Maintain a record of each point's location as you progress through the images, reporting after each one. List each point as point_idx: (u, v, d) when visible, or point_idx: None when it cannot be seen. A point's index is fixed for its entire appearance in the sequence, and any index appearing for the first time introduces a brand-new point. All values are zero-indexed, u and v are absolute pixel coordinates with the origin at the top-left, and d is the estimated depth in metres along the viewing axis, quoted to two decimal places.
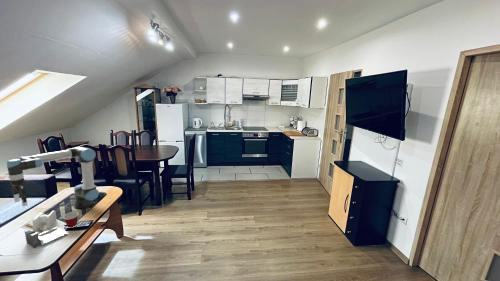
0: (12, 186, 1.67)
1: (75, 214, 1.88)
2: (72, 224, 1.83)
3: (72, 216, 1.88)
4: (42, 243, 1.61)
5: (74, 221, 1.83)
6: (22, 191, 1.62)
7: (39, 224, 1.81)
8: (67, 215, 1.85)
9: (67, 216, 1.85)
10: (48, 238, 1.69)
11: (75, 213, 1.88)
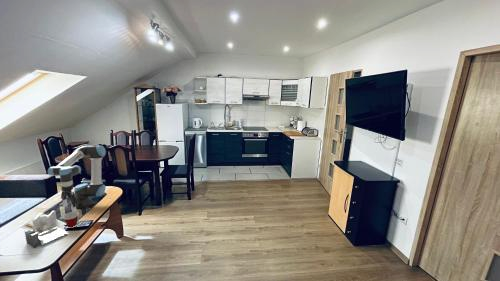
0: (62, 192, 1.81)
1: (75, 214, 1.88)
2: (72, 224, 1.83)
3: (72, 216, 1.88)
4: (42, 243, 1.61)
5: (74, 221, 1.83)
6: (72, 197, 1.76)
7: (39, 224, 1.81)
8: (67, 215, 1.85)
9: (67, 216, 1.85)
10: (48, 238, 1.69)
11: (75, 213, 1.88)
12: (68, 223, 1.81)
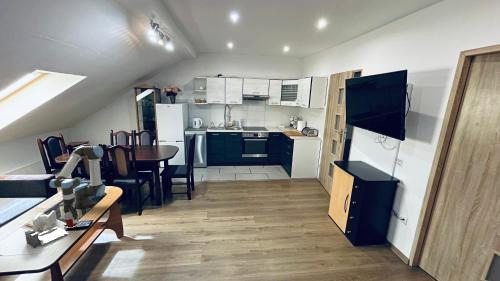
0: None
1: None
2: (72, 224, 1.83)
3: (72, 216, 1.88)
4: (42, 243, 1.61)
5: None
6: (74, 210, 1.79)
7: (39, 224, 1.81)
8: (67, 215, 1.85)
9: (67, 216, 1.85)
10: (48, 238, 1.69)
11: None
12: (68, 223, 1.81)
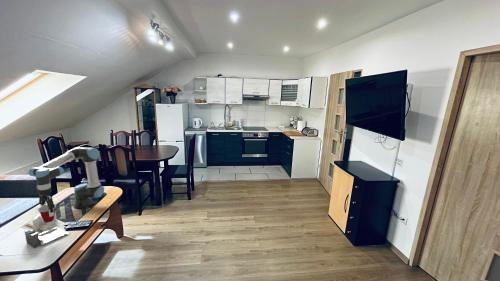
0: (39, 196, 1.67)
1: None
2: (48, 217, 1.67)
3: None
4: (42, 243, 1.61)
5: None
6: (50, 201, 1.63)
7: (39, 224, 1.81)
8: (43, 207, 1.69)
9: (43, 209, 1.69)
10: (48, 238, 1.69)
11: None
12: (44, 216, 1.65)
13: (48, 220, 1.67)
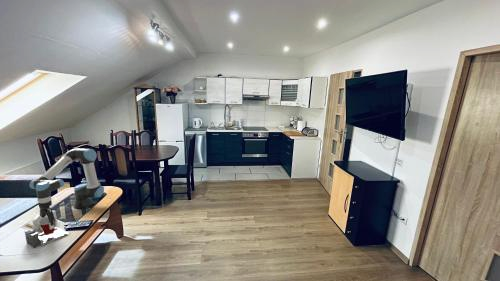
0: (40, 209, 1.69)
1: None
2: (49, 230, 1.68)
3: None
4: (42, 243, 1.61)
5: None
6: (50, 214, 1.64)
7: (39, 224, 1.81)
8: (44, 220, 1.70)
9: (44, 221, 1.70)
10: (48, 238, 1.69)
11: None
12: (44, 229, 1.66)
13: (48, 232, 1.68)
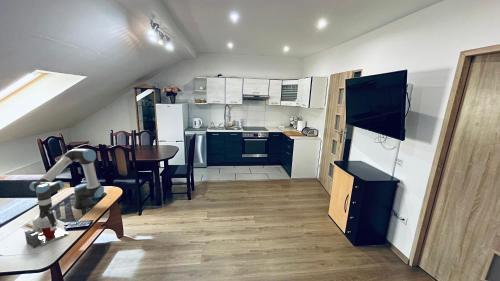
0: (40, 210, 1.69)
1: None
2: (49, 233, 1.69)
3: None
4: (42, 243, 1.61)
5: (52, 230, 1.69)
6: (51, 216, 1.64)
7: (39, 224, 1.81)
8: (44, 223, 1.71)
9: (44, 224, 1.71)
10: (48, 238, 1.69)
11: None
12: (45, 232, 1.67)
13: (49, 236, 1.69)
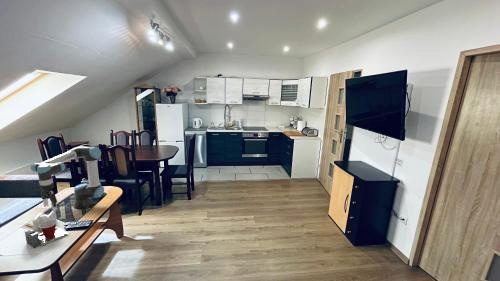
0: (41, 191, 1.70)
1: (53, 222, 1.74)
2: (49, 233, 1.69)
3: (50, 224, 1.74)
4: (42, 243, 1.61)
5: (51, 230, 1.69)
6: (52, 196, 1.65)
7: (39, 224, 1.81)
8: (44, 223, 1.71)
9: (44, 224, 1.71)
10: (48, 238, 1.69)
11: (53, 221, 1.74)
12: (45, 232, 1.67)
13: (49, 236, 1.69)
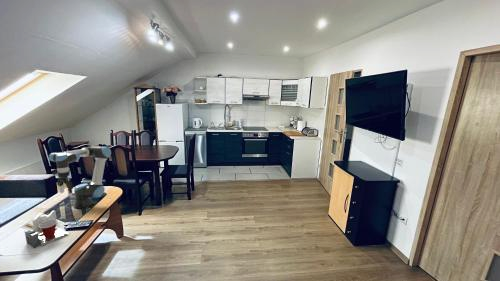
0: (58, 178, 1.84)
1: (53, 222, 1.74)
2: (49, 233, 1.69)
3: (50, 224, 1.74)
4: (42, 243, 1.61)
5: (51, 230, 1.69)
6: (69, 182, 1.79)
7: (39, 224, 1.81)
8: (44, 223, 1.71)
9: (44, 224, 1.71)
10: (48, 238, 1.69)
11: (53, 221, 1.74)
12: (45, 232, 1.67)
13: (49, 236, 1.69)
